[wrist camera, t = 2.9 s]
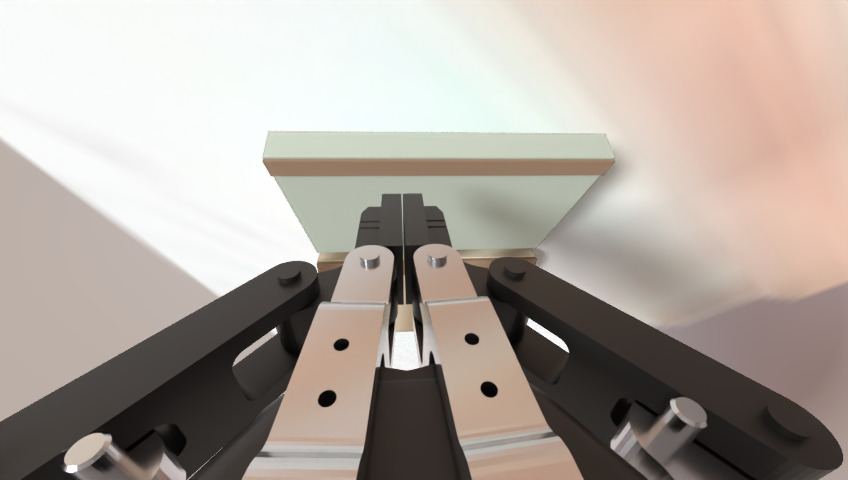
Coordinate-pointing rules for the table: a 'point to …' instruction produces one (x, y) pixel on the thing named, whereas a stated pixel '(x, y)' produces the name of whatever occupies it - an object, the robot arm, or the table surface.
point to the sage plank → (437, 180)
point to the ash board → (404, 311)
